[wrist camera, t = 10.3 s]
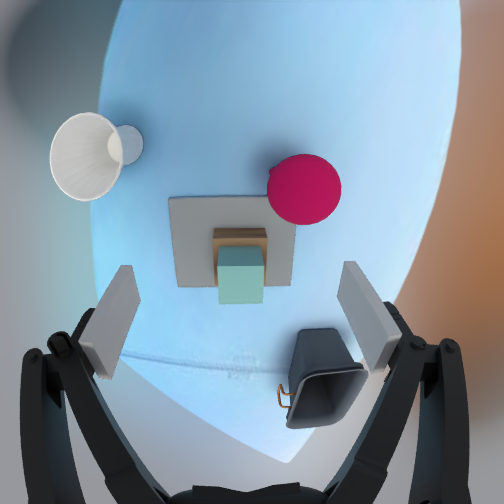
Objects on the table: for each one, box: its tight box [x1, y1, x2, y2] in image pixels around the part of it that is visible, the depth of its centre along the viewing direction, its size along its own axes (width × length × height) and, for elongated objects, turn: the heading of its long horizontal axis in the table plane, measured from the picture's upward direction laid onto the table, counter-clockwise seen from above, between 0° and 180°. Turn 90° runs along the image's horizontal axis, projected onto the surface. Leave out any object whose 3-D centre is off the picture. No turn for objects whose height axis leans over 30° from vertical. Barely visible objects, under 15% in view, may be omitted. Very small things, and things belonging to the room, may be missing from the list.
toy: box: [267, 154, 341, 225], centre depth 35 cm, size 8×8×15 cm
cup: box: [50, 112, 143, 201], centre depth 32 cm, size 10×10×14 cm
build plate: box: [168, 196, 296, 287], centre depth 46 cm, size 16×20×1 cm
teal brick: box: [217, 246, 264, 304], centre depth 40 cm, size 6×6×6 cm
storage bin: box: [277, 329, 368, 429], centre depth 53 cm, size 21×16×14 cm
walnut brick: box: [212, 228, 268, 285], centre depth 44 cm, size 8×8×4 cm
